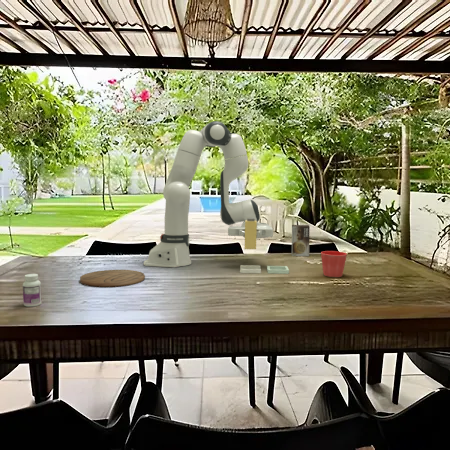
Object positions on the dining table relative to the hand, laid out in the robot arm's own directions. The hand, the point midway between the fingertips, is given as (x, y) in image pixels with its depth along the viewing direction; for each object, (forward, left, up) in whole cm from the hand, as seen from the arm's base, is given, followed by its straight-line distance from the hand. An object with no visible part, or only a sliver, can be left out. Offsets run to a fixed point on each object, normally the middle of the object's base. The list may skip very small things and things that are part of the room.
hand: (250, 233), depth 192 cm
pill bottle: (-70, -57, -17) cm, 92 cm away
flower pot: (+35, -5, -17) cm, 39 cm away
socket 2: (+12, +1, -17) cm, 21 cm away
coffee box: (+27, +44, -17) cm, 54 cm away
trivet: (-55, -21, -17) cm, 61 cm away
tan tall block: (0, +1, -7) cm, 7 cm away
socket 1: (0, +1, -17) cm, 17 cm away
